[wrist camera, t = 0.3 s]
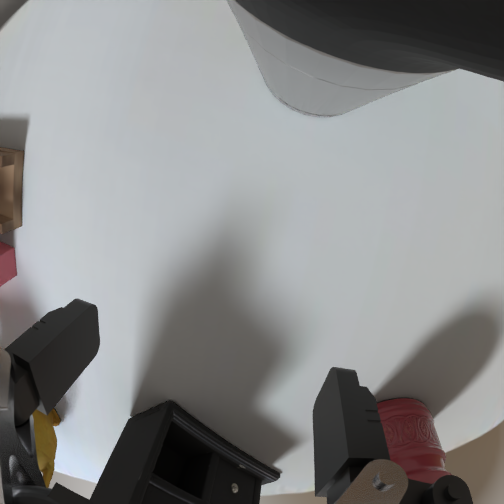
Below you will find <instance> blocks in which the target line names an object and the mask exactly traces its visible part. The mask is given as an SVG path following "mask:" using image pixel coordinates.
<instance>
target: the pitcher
mask: <svg viewBox="0 0 504 504" xmlns="http://www.w3.org/2000/svg"><path fill="white" fill-rule="evenodd" d="M32 416H33V419H34V432H35V443H36V452H37V460H38V465H39V469H40V471H41V472H43V479H44V482H45V485H46V488H48V487H49V484H50V481H51V479H52V475H53V471H54V459H55V453H56V448H57V438H56V435H55V431H54V428H53V426H57V425H59V424H60V422H61V421H60V418H59V416H58V414H57V413H56V411H55V409H54V408H53V409H52V411H51V412H50V413H49V414H48V416H47V415H45V414H44V413H42V412H40V411H39V410H37V409H36V410H35V411H34V412H33V414H32Z"/></svg>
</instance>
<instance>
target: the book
mask: <svg viewBox="0 0 504 504" xmlns="http://www.w3.org/2000/svg"><path fill="white" fill-rule="evenodd" d="M15 276H17V270H16V261H15V250H14V248H13V247H11V246H9V245H7V244H5V243H3V242H1V241H0V286H2V285H3V284H5V283H6V282H8V281H9V280H11V279H12V278H14V277H15Z"/></svg>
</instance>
